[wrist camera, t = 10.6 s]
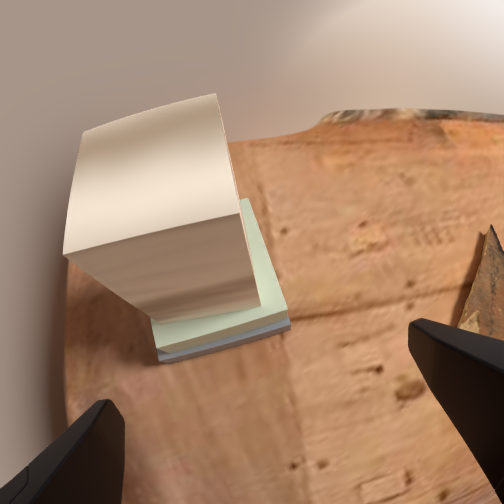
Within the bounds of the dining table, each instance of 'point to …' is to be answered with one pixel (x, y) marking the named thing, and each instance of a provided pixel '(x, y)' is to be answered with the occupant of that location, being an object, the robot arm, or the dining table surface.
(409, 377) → the dining table surface
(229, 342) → the tower bottom slab
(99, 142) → the maple column
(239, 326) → the tower top slab
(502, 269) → the shard
